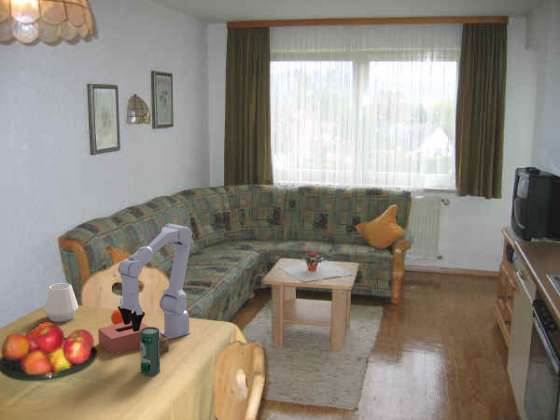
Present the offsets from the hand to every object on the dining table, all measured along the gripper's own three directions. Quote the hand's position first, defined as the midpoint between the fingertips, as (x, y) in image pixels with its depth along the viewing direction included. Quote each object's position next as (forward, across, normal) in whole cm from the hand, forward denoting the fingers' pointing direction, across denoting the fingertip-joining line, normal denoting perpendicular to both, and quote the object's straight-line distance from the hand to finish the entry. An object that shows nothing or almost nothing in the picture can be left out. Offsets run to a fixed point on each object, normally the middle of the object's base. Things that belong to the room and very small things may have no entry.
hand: (131, 327), depth 206 cm
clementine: (+10, -26, +7) cm, 28 cm away
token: (+10, +6, +8) cm, 14 cm away
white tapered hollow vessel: (+10, -48, -9) cm, 50 cm away
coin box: (+10, -9, +1) cm, 13 cm away
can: (+10, +18, -2) cm, 20 cm away
